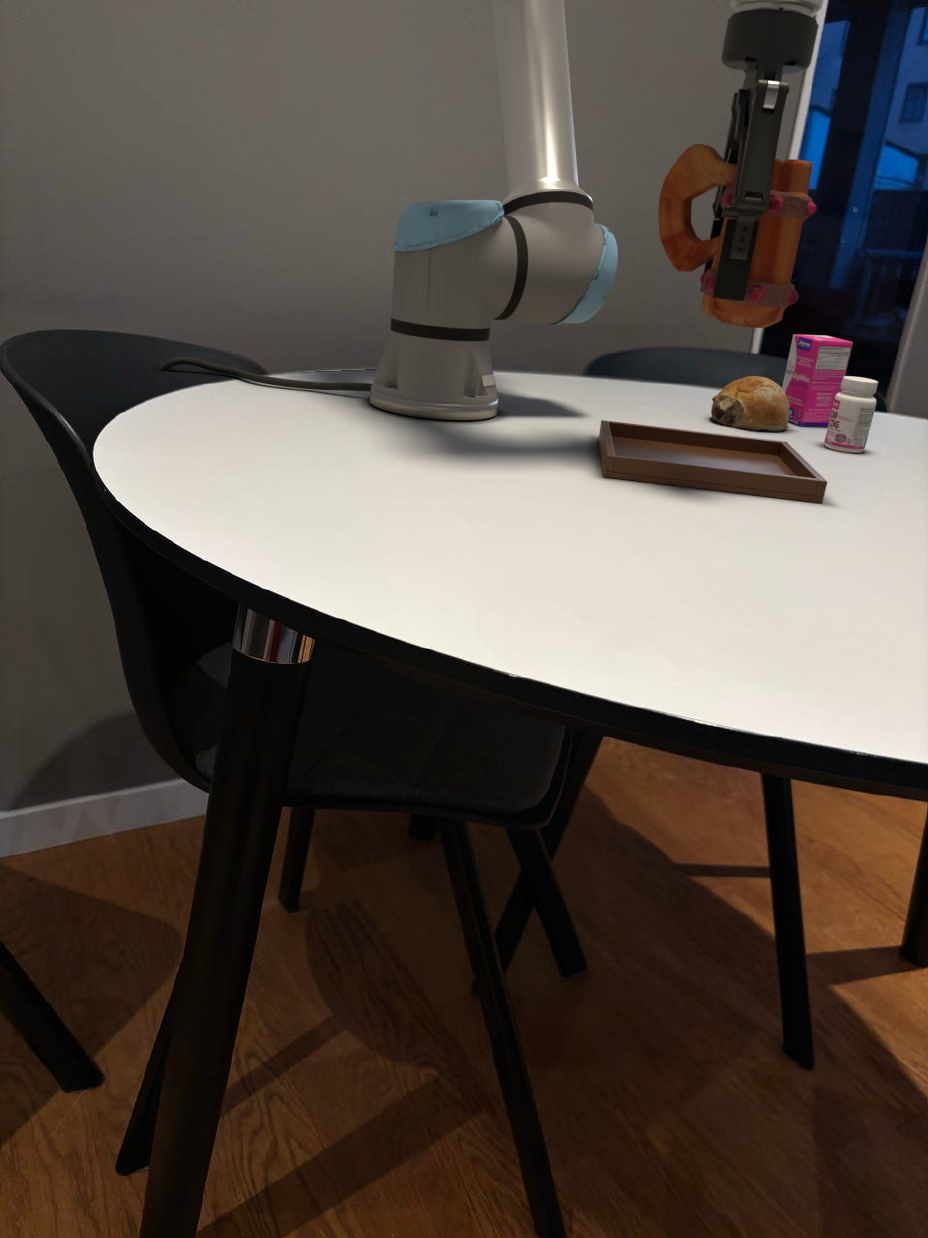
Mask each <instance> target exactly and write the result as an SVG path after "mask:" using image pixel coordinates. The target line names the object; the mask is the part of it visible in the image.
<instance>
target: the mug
mask: <svg viewBox="0 0 928 1238" xmlns="http://www.w3.org/2000/svg"><path fill="white" fill-rule="evenodd" d="M813 165H814V162H812V161H809V160H802V159H797V158H796V159H795V158H794V159H790V158H789V159H785V160H783V161H782V160H780V159H779V158H775V163H774V169H773V175H772V181H771V187H770V193H769V199H768V202H769V205H768V208H767V210H766V211H765V212H763V215H762V217H761V219H760V221H755V222H760V223H759V228H758V233H757V238H756V243H755V248H754V253H753V258H752V263H751V268H750V273H749V278H748V283H747V288H746V293H745V298H744V301H739V300H730V299H721V298H713V297H712V295H713V290H714V284H715V279H716V274H717V268H718V263H719V258H720V252H721V247H722V242H723V236H724V231H725V226H726V220H727V219H735V220H736V218H727V217H725V219H724V223H723V227H722V231H721V234H720V236H718V237H716V238H712V239H710V238H709V239H704V240H702V239H701V238H700V237H699V236H697V234H696V232H695V229H694V226H693V224H692V206H693V205H692V202H693V200H695V199H696V198H698V197H700V196H702V195H703V194H705V193H707V192H709V191H712V190H713V189H715V188H717V186H719V185H725V186H726V187H727V188H726V190H725V191H724V193H723V194H721V195H720V197H719V198H718V202H719V203H720V205H721V206H722V209H724V208H725V206H729V207H732V200H733V192H734V185H735V177H736V169H737V164H731V163H727V162H726V161H725V160H724V159H723V157H722V156H721V155H720V153H718V151H717V150H716V148H714V147H712V146H710V145H706V144H703V143H693V144H692V145H691V146H688V147H687V148H686V149H685V150H684V151H683V152H682V153H681V154H680V155H679V156H678V158H677V159H676V161H675V162H674V163H673V165H672V166H671V168H670V169H669V171H668V173H667V174H666V176H665V177H664V180H663V182H662V186H661V190H660V193H659V197H658V198H659V200H658V209H657V221H658V233H659V234H658V235H659V236H658V237H659V240H660V242H661V245H662V248H663V250H664V252H665V254H666V256H667V258H668V260H669V261H670V263H671V265H672V266H673V268H674V269H675V270H676V271H677V272H681V273H683V272H686V273H687V272H689V273H691V272H693V271H695V270H697V269H698V268H700V267H701V266H704V265H705V263H707V262H708V261H710V260H712V259H713V263H712V267H711V268H710V269H708V270H707V271H706V272H705V273H704V272H702V274H701V276H700V277H699V280H700V284H701V285H702V291H703V292H702V291H701V292H702V293H703V295H702V299H701V301H700V308H701V311H703V313H704V314H705V315H707V317H709V318H711V319H713V320H715V321H717V322H720V323H723V324H727V325H733V326H736V327H743V328H747V327H748V328H749V329H752V328H754V329H765V328H767V327H770V326H772V325H774V324H778V323H779V322H781V321H782V320H783V317H784V312H785V310H786V309H787V308H788V307H789V306H792V305H794V304H796V303H797V301H798V300H799V293H798V292H797V290H795V285H794V284H792V282H791V281H792V275H793V272H794V266H795V261H796V257H797V253H798V248H799V244H800V240H801V234H802V228H803V222H805V221H806V220H807V219H809V217H811V216H812V215H815V213H816V212H817V211H818V209H817V205H816V204H815V202H813V199H812V197H810V196H809V188H810V182H811V177H812V173H813V172H812V171H813Z"/></svg>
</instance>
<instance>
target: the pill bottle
mask: <svg viewBox="0 0 928 1238" xmlns="http://www.w3.org/2000/svg"><path fill="white" fill-rule="evenodd" d="M878 385H879V382H878V380H875V379H872V378H867V377H862V376H852V375H845V376H844V377H843V380H842V383H841V389H842V391H841V392H839V393H837V394H836V396H835V399H834V403H833V408H832V412H831V416H830V420H829V424H828V427H827V429H826V433H825V437H824V442H823V445H824V446H825V447H826V448H827V449H831V450H833V451H838V452H843V453H851V454H852V453H854V454H861V453H863V452H864V451H865V450H866V449H865V448H866V446H867V441H868V438H869V434H870V429H871V426H872V422H873V418H874V415H875V410H876V407H877V399H876V398H875V397H874V395H875V394H876V392H877V388H878Z"/></svg>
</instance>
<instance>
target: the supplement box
mask: <svg viewBox="0 0 928 1238" xmlns="http://www.w3.org/2000/svg"><path fill="white" fill-rule="evenodd" d="M853 344H854V342H853V341H850V340H847V339H842V338H839V337H838V338H837V337H835V336H830V335H818V334H798V333H797V334H793V335H792V339H791V344H790V349H789V353H788V358H787V362H786V368H785V373H784V377H783V382H782V386H781V388H782V389H783V391H784V393H785V394H786V397H787V400H788V403H789V404H790V406H789V418H788V422H789V423H792V424H796V425H797V426H800V427H816V428H817V427H818V428H819V427H820V428H828V424H829V420H830V416H831V412H832V408H833V403H834V399H835V396H836V394H837V393H839V392H841V391H842V389H841V383H842V380H843V377H844V376H847V375H846V374H847V369H848V366H849V361H850V357H851V353H852V348H853Z"/></svg>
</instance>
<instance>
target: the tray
mask: <svg viewBox="0 0 928 1238" xmlns="http://www.w3.org/2000/svg"><path fill="white" fill-rule="evenodd" d="M598 444H599V451H600V457H601V458H600V459H601V465H602V466H601V467H602V473H603V477H604V478H609V479H610V478H611V479H619V480H626V481H635V482H641V483H642V482H643V483H650V484H651V483H652V484H658V485H659V484H660V485H668V486H677V487H684V488H685V487H686V488H693V489H702V490H708V491H709V490H710V491H717V492H718V491H719V492H727V493H734V494H735V493H736V494H743V495H751V496H758V497H759V496H761V497H767V498H776V499H783V500H793V501H799V502H800V501H801V502H808V503H819V504H823V502H824V497H825V494H826V491H827V486H828V481H827V479H826V478H824V476H823V475H821V474H820V472H818V471H817V470H816V469H815V468H814V467H813V466H812V465H811V464H810V463H809V462H808V461H807V460H806V459H805V458H804V457H803V456H802V455H801V454H800V453H799V452H798V451H797V450H796V449H795V448H794V447H792V445H791V444H789V442H787V441H782V440H775V439H765V438H759V437H750V436H749V437H748V436H742V435H741V436H740V435H731V434H722V433H715V432H705V431H697V430H690V429H689V430H688V429H681V428H671V427H665V426H664V427H663V426H655V425H647V424H638V423H630V422H621V421H611V420H604V419H601V420H600V426H599V433H598Z"/></svg>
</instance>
